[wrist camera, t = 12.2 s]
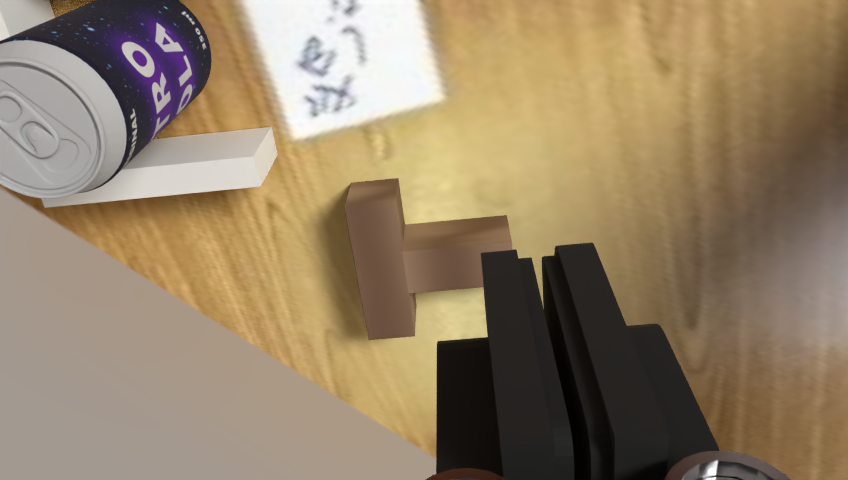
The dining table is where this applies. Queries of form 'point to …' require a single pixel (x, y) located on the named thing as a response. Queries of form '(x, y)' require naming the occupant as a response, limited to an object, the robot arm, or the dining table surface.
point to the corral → (164, 145)
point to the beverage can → (94, 91)
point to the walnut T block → (411, 255)
